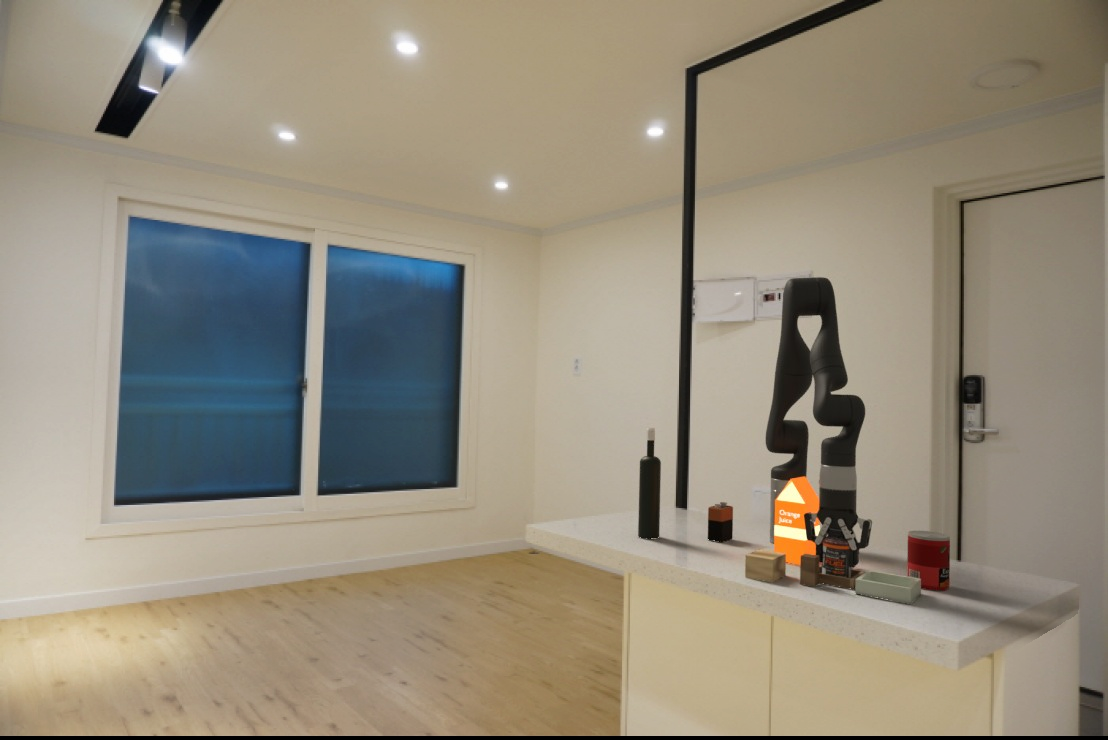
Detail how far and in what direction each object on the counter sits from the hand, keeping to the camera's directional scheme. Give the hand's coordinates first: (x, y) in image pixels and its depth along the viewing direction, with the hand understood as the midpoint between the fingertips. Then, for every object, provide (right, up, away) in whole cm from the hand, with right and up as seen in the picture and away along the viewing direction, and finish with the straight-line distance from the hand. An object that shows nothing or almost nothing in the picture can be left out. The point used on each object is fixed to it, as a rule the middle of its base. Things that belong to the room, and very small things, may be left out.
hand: (836, 563), depth 151 cm
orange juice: (-2, -4, +18) cm, 19 cm away
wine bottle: (-35, -4, +41) cm, 54 cm away
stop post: (-7, -3, -3) cm, 9 cm away
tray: (+7, -4, -9) cm, 12 cm away
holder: (0, -4, 0) cm, 4 cm away
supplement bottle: (0, -4, 0) cm, 4 cm away
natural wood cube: (-15, -4, +2) cm, 15 cm away
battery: (-16, -5, +40) cm, 43 cm away
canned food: (+19, -4, -2) cm, 19 cm away
